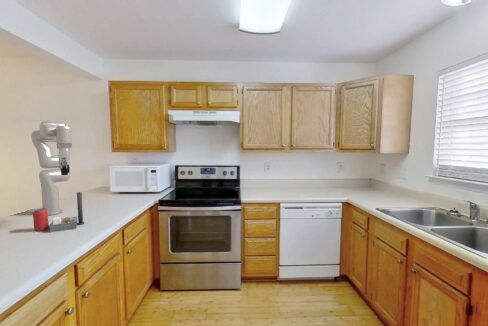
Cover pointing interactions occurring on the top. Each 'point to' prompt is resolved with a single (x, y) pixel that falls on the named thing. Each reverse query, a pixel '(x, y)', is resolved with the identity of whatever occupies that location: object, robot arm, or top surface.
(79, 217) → the post
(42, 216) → the beer can
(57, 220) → the white block
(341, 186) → the top surface
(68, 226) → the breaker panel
